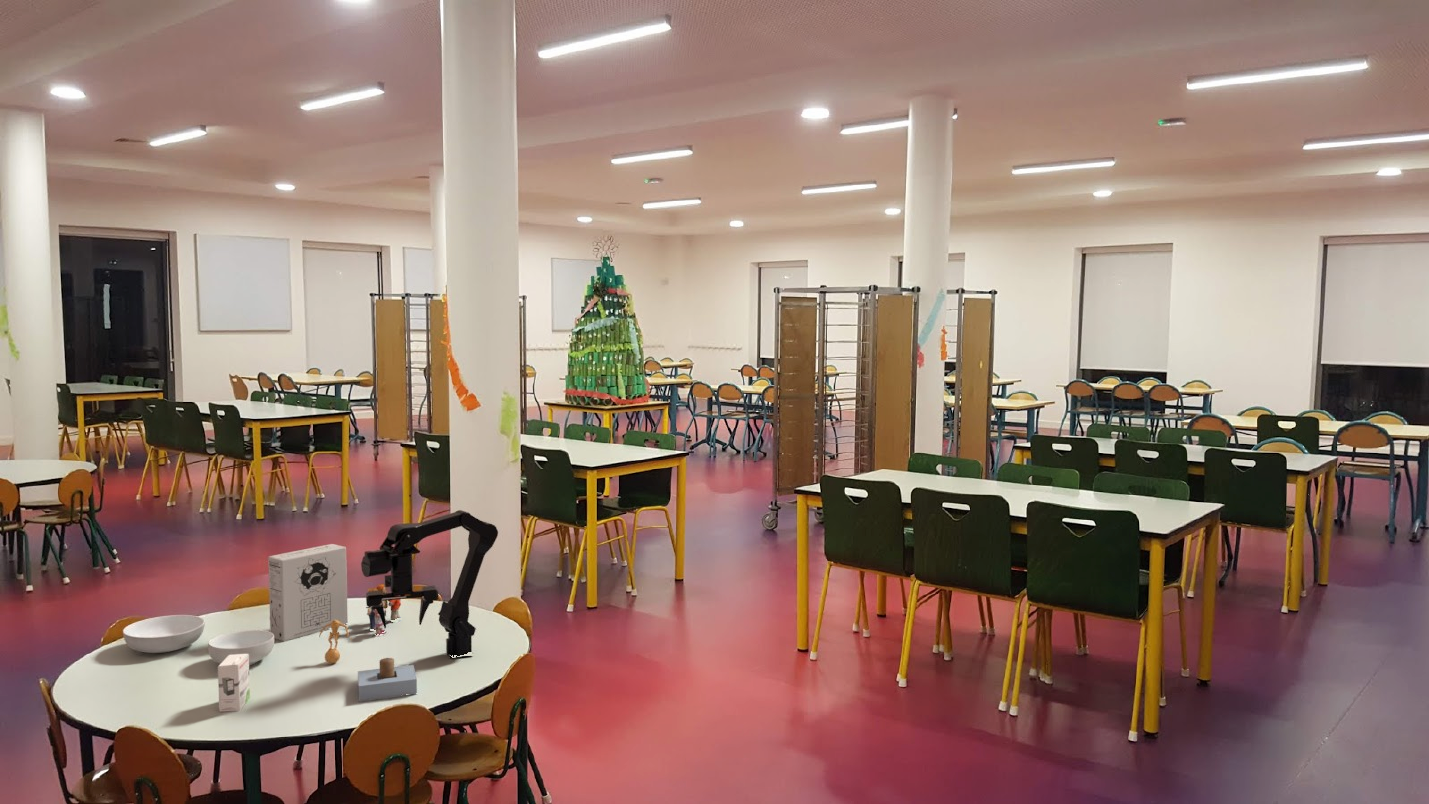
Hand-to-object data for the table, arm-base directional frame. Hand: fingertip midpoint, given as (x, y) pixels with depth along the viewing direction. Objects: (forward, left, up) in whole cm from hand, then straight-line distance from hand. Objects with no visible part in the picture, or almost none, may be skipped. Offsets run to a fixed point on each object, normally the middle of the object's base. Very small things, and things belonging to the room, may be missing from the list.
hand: (402, 626), depth 264 cm
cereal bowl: (+42, -20, -12) cm, 48 cm away
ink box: (+41, +12, -12) cm, 44 cm away
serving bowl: (+64, -41, -12) cm, 77 cm away
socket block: (+5, +15, -12) cm, 20 cm away
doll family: (+5, -40, -12) cm, 42 cm away
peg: (+5, +15, -12) cm, 20 cm away
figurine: (+18, -12, -12) cm, 25 cm away
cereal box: (+25, -44, -12) cm, 52 cm away
